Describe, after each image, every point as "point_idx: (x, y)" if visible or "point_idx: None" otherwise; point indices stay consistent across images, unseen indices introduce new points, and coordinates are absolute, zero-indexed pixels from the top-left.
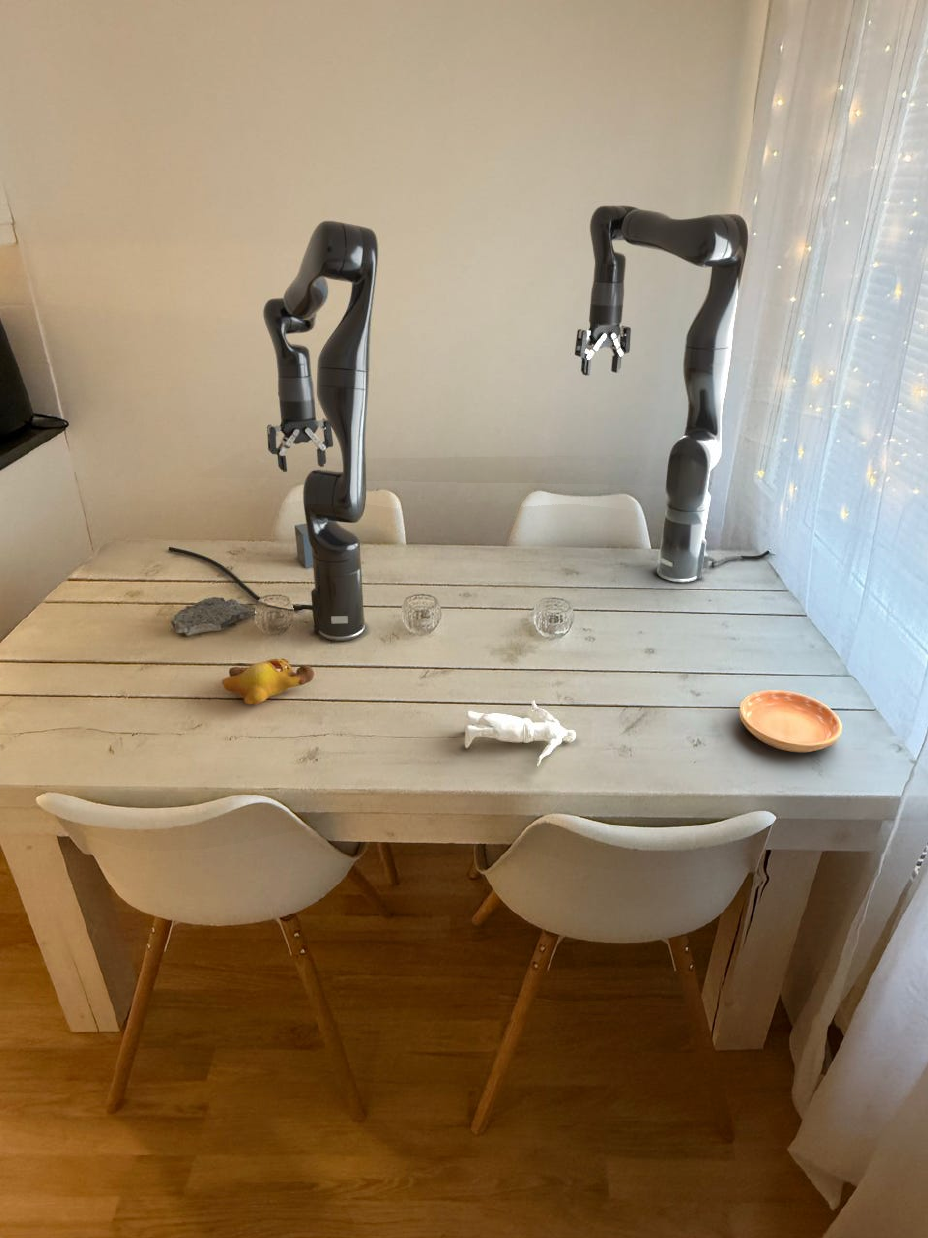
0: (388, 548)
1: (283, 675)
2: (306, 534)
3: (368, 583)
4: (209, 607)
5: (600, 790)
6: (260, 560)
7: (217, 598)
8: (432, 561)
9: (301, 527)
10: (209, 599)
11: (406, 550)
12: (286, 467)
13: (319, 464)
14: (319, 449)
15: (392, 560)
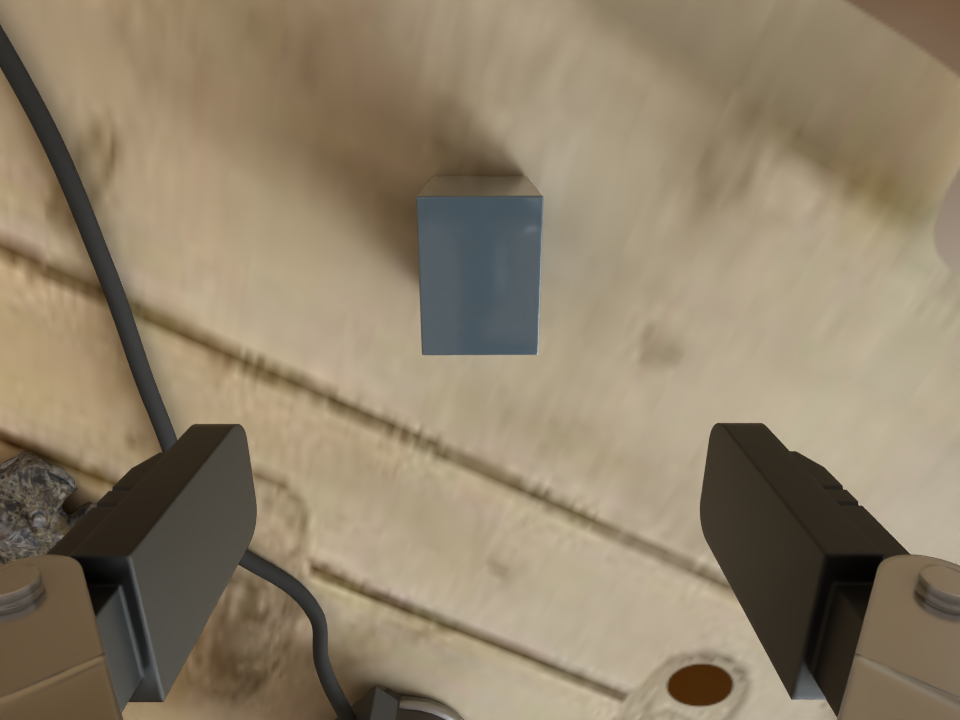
0: (858, 261)
1: None
2: (444, 353)
3: (608, 527)
4: (4, 556)
5: None
6: (256, 120)
7: (34, 493)
8: (926, 462)
9: (445, 252)
10: (3, 490)
11: (911, 318)
12: (233, 563)
13: (713, 484)
14: (826, 672)
15: (796, 387)
